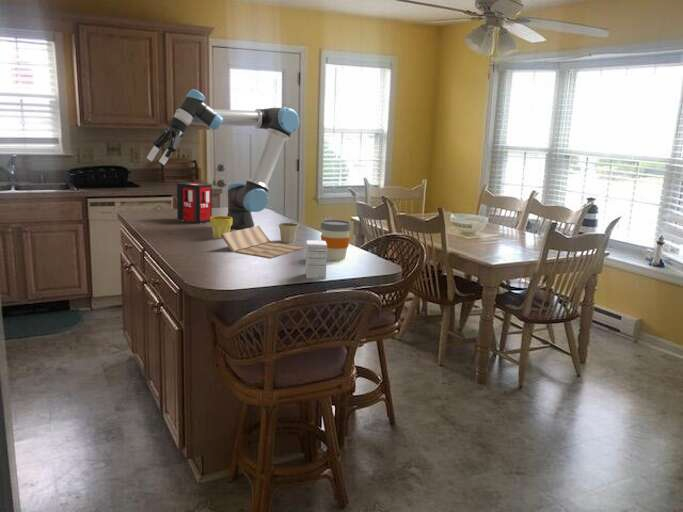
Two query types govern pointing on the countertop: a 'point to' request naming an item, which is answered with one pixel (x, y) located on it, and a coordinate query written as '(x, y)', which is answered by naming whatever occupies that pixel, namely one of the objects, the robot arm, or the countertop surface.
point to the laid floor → (270, 250)
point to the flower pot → (288, 232)
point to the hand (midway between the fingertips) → (155, 161)
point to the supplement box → (316, 259)
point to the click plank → (245, 238)
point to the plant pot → (220, 225)
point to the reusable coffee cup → (336, 238)
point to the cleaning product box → (194, 202)
